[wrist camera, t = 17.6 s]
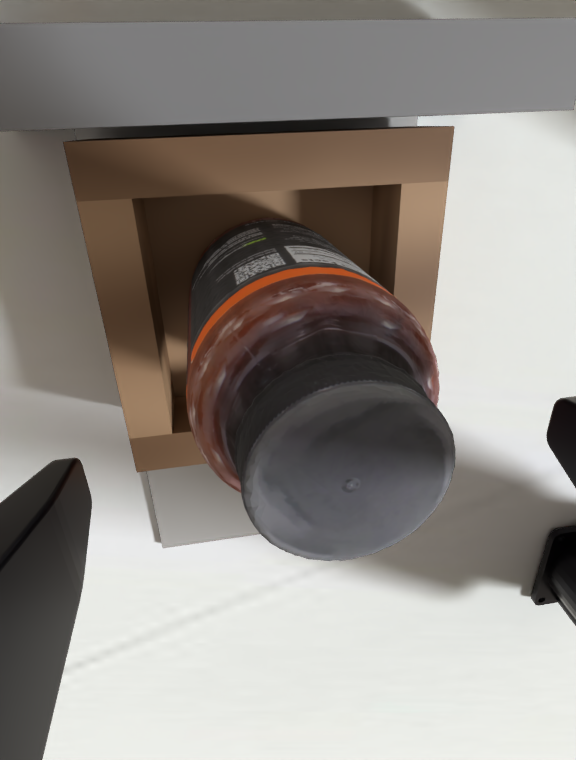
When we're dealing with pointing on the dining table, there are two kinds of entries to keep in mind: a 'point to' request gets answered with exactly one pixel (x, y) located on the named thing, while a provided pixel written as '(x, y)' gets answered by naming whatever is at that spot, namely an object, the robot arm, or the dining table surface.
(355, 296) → the supplement bottle
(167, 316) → the wooden tray
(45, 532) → the robot arm
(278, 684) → the dining table surface
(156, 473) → the backstop
